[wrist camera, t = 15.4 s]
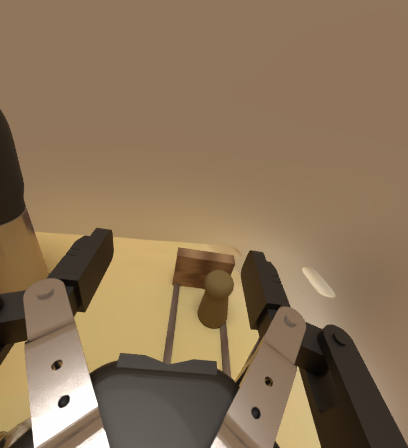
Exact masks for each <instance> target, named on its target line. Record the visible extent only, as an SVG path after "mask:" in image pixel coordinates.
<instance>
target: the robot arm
mask: <svg viewBox="0 0 408 448" xmlns="http://www.w3.org/2000/svg"><path fill="white" fill-rule="evenodd" d="M23 195H24V182H23V177H22V173H21V169H20V165H19V161H18V157H17V153H16V149H15V145H14V140H13V137H12V133H11V130H10V128H9V125H8V123H7V120H6V118H5V116H4V115H3V113H2V111H1V110H0V365H1V363H2V362H3V360H4V359H5V357H6V356H7V354H8V353H9V351H10V350H11V348H12V346H13V345H14V343H17V342H22V341H26V340H28V341H27V342H25V359H26V369H27V379H28V390H29V400H30V410H31V421H32V426H31V427H30V428H29V429H28V430H27V431H26V432H25V433H24V434H23V435H22V436H20V437H19V438H18V439H17V440H16V441H15V442H14V443H13V444H12V445H11V446H10V447H8V448H280V447H279V446H278V444H277V443H276V441H275V439H276V436H277V433H278V429H279V426H280V423H281V420H282V417H283V413H284V410H285V407H286V404H287V401H288V397H289V394H290V391H291V388H292V385H293V381H294V378H295V375H296V371H297V366H298V367H299V370H300V374H301V377H302V381H303V384H304V388H305V391H306V395H307V398H308V402H309V406H310V409H311V413H312V416H313V420H314V423H315V427H316V430H317V434H318V438H319V441H320V445H321V448H408V446H407V444H406V442H405V440H404V438H403V436H402V434H401V432H400V431H399V428H398V427H397V425H396V423H395V421H394V419H393V417H392V416H391V413H390V411H389V409H388V407H387V405H386V403H385V402H384V400H383V398H382V396H381V394H380V392H379V390H378V388H377V386H376V384H375V382H374V380H373V378H372V377H371V375H370V373H369V371H368V369H367V367H366V365H365V363H364V361H363V359H362V357H361V356H360V353H359V352H358V350H357V348H356V346H355V344H354V342H353V340H352V339H351V337H350V336H349V335H348V334H347V333H346V332H345V331H344V330H342V329H341V328H339V327H337V326H335V325H327V326H325V327H324V328H323V329H321V328H318V327H316V326H314V325H311V324H309V323H307V322H305V320H304V319H303V317H302V316H301V315H300V314H299V313H298V312H297V311H296V310H294V309H293V308H291V307H290V304H289V302H288V299H287V296H286V294H285V291H284V289H283V286H282V284H281V281H280V278H279V275H278V273H277V270H276V269H275V267H274V266H273V265H272V264H271V262H267V261H266V259H265V256H264V253H263V252H258V251H249V253H248V255H247V257H246V260H245V262H244V264H243V267H242V270H241V280H242V286H243V291H244V296H245V301H246V307H247V312H248V317H249V323H250V328H251V329H253V330H258V333H259V338H258V340H257V342H256V344H255V346H254V348H253V350H252V351H251V353H250V355H249V357H248V359H247V361H246V363H245V365H244V366H243V368H242V370H241V372H240V373H239V375H238V376H237V378H236V380H235V381H234V380H233V379H232V378H231V377H230V376H228V375H227V374H226V373H224V372H222V371H221V370H218V369H217V361H206V360H195V359H193V360H189V361H184V362H179V363H175V364H166V363H163V362H161V361H158V360H156V359H153V358H151V357H148V356H146V355H137V354H125V353H120V356H119V359H118V361H113V362H110V363H107V364H105V365H103V366H101V367H99V368H97V369H96V370H94V371H93V372H91V373H89V370H88V366H87V363H86V359H85V356H84V352H83V349H82V345H81V341H80V338H79V334H78V331H77V327H76V323H75V320H74V316H75V314H76V312H85V311H86V310H87V308H88V306H89V304H90V302H91V300H92V298H93V296H94V294H95V292H96V290H97V288H98V286H99V284H100V282H101V280H102V278H103V276H104V274H105V272H106V270H107V268H108V266H109V264H110V262H111V260H112V258H113V252H114V248H113V235H112V230H108V229H102V228H96V229H95V230H94V232H93V233H92V234H91V236H83V237H82V238H80V239H78V240H77V241H76V242H75V243H74V244H73V245H72V247H71V248H70V250H68V252H67V253H66V255H65V256H64V257H63V258H62V259H61V261H60V262H59V263H58V264H57V266H56V267H55V268H54V269H53V271H52V272H51V273H50V274H49V273H48V270H47V267H46V264H45V261H44V258H43V255H42V252H41V249H40V246H39V243H38V240H37V237H36V234H35V231H34V229H33V225H32V223H31V220H30V217H29V214H28V211H27V208H26V205H25V202H24V198H23Z"/></svg>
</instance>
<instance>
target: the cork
mask: <svg viewBox="0 0 408 448" xmlns="http://www.w3.org/2000/svg"><path fill="white" fill-rule="evenodd" d="M204 284H205V290H206V291H205V293H204V296H203V298H202V301H201V304H200V306H199V309H198V317H199V320H200V321H201V322H202V324H204V325H205V326H207V327H210V328H218V327H220V326H222V325H223V324H224V323H225V322H226V320H227V310H228V296H229V295H230V294H231V292H232V291H233V286H234V283H233V279H232V277H231V276H230V275H229V274H228V273H227V272H225V271H222V270H214V271H212V272H210V273H209V274H208V275H207V276H206V278H205V283H204Z"/></svg>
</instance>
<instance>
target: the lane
mask: <svg viewBox="0 0 408 448" xmlns="http://www.w3.org/2000/svg"><path fill="white" fill-rule="evenodd" d="M234 266H235V260H234V255H227V254H220V253H213V252H206V251H199V250H192V249H185V248H179V247H178V253H177V259H176V265H175V271H174V278H173V284H172V285H174V290H173V297H172V304H171V310H170V317H169V324H168V331H167V338H166V345H165V352H164V359H163V363H166V364H170V363H171V354H172V346H173V337H174V329H175V320H176V312H177V303H178V295H179V286H187V287H195V288H203V289H205V284H204V283H205V278H206V276H207V275H208V274H209V273H210V272H212V271H214V270H222V271H225V272H227V273H228V274H229V275H230V276H231V273H232V271H233V268H234ZM220 335H221V350H222V366H223V372H224V373H226V374H227V375H228V376H230V377H231V371H230V360H229V349H228V338H227V327H226V322H225V323H224V324H223V325H222V326H220Z"/></svg>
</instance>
